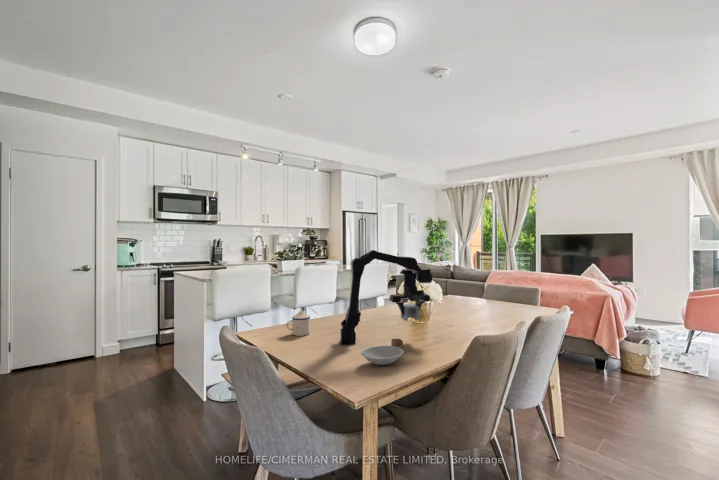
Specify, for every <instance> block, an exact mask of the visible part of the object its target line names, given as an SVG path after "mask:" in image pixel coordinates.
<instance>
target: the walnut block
mask: <svg viewBox="0 0 719 480" xmlns="http://www.w3.org/2000/svg"><path fill="white" fill-rule="evenodd" d="M390 341H391V343H390V344H391V345H390V346H395V347H399V348H401V349H403V350H404V340H402V339H401V338H391V340H390Z"/></svg>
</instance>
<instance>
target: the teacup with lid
mask: <svg viewBox="0 0 719 480" xmlns="http://www.w3.org/2000/svg"><path fill="white" fill-rule="evenodd" d="M310 322H311V316H310V315H309V314H306V313H305V312H304V311H303V310H299V311H298V313H296V314H293V315H292V317H291V320H289V321H286V326H285V327H286V329H287V330H289V331H292V336H295V335H296V337H305V336H304V335H306V336H308V335H310V334H311V333H310V332H311V331H310V329H311V328H310V325H311V324H310ZM289 323H292V327H291V328H289Z"/></svg>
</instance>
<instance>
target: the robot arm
mask: <svg viewBox="0 0 719 480" xmlns="http://www.w3.org/2000/svg"><path fill="white" fill-rule="evenodd" d="M374 260H378V261H382V262H387V263H392V264H396V265H398V266H400V267H402V269H401V271H399V274H401V275H403V285H402V288H403V293H402V295H400V294H397V293H396V294H389V301H390V302H392V303H395V304H396V305H397V306H398V309H399V311H400V315H401V314H402V316H404V309H403V305H404V304H405V303H404V301H410V302H415V303H414V304H415V305H417V306H419V311H420V309H421V307H422V305H423V304H425V303H426V302H430V301H431V295H430V294H428V293H425V290H424V289H420V290H418V287H417V282H418V284H431V283H432V282H433V275H432V272H431V269H430V268H425V269H424V268H423V269H421V267H420V266H419V265H418V261H417V259H416V258H415V257H411V256H397V255H393V254H388V253H385V252H384V253H383V252H380V251H376V250H373V249H371V250H370V251H368V252H366V253H365V254H363V255H361V256H359V257H355V258H352V260H351V262H350V266H351V267H350V268H351V286H350V294H349V295H350V296H349V303H348V307H347V310H346V313H345V316H344V317H345V318H344V319H343V320H342V321H341V322H340V325H341V328H339V329H340V333H339V334H340V339H339V342H340V345H341V346H342V345H343V346H345V345H356V342H357V341H356V340H357V335H356V334H357V333H356V330H355V329H356V327H357V326H358V325H359V323H360V322H361V315H362V313H361V311H360V310H358V306H359V297H360V288H361V279H362V276H363V274H364V271H365V268H366V266H367V265H368V264H369V263H371V262H372V261H374ZM404 268H405V269H404ZM407 269H408V270H407Z"/></svg>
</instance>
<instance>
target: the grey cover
mask: <svg viewBox="0 0 719 480" xmlns="http://www.w3.org/2000/svg"><path fill="white" fill-rule="evenodd" d="M403 309H404V316H402V314H401V313H400V318H401V319H403V320H404V321H405V322H408V319H411V318H412V319H414V320H416V321H419V320H420V310H419V306H417V305H415V303H407V304H406V303H404V305H403Z"/></svg>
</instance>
